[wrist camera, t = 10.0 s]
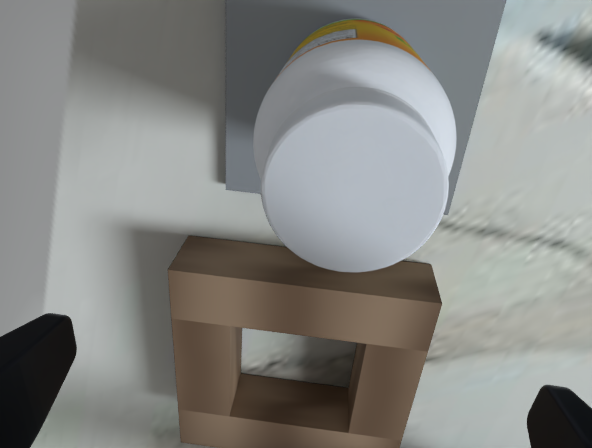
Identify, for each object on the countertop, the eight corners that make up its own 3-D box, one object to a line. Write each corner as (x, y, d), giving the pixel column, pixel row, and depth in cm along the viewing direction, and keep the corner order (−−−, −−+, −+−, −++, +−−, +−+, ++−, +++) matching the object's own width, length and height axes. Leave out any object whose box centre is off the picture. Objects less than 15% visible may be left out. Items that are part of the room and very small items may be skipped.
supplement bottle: (440, 122, 18) (519, 253, 10) (319, 174, 20) (298, 325, 11) (390, -13, 16) (435, 7, 8) (259, 58, 18) (178, 138, 9)
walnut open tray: (431, 264, 22) (442, 303, 20) (387, 425, 28) (391, 472, 25) (188, 235, 23) (167, 269, 20) (196, 399, 29) (180, 442, 26)
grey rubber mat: (514, -47, 16) (518, -47, 15) (445, 209, 21) (447, 214, 20) (229, -71, 16) (225, -72, 16) (228, 185, 21) (225, 189, 21)
